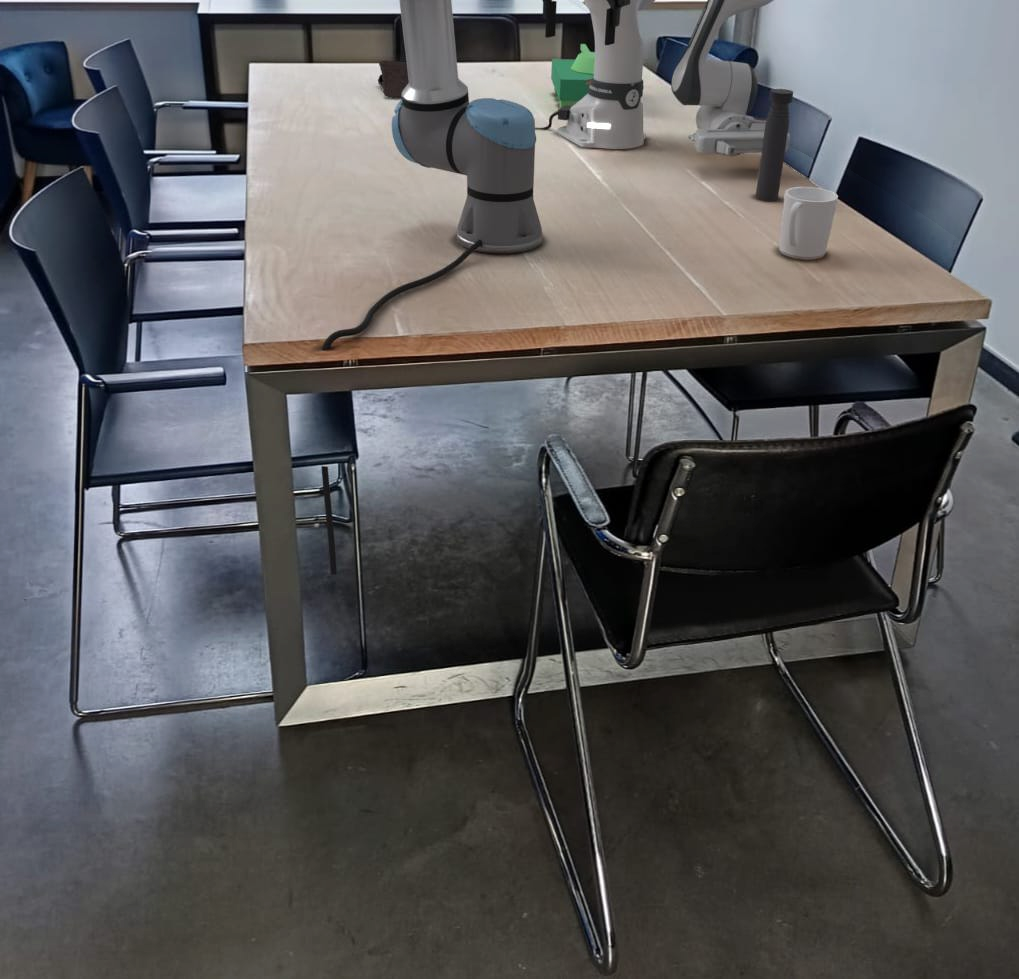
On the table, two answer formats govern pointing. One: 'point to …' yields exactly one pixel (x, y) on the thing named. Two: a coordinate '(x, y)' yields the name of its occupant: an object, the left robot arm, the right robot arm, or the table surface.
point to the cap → (781, 96)
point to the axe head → (393, 77)
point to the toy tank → (572, 77)
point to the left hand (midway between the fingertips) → (579, 40)
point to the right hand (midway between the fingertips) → (753, 150)
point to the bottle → (773, 152)
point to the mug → (806, 222)
